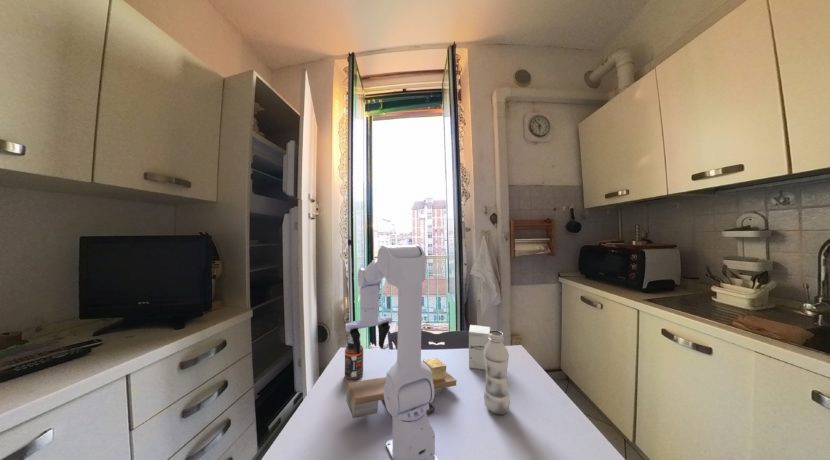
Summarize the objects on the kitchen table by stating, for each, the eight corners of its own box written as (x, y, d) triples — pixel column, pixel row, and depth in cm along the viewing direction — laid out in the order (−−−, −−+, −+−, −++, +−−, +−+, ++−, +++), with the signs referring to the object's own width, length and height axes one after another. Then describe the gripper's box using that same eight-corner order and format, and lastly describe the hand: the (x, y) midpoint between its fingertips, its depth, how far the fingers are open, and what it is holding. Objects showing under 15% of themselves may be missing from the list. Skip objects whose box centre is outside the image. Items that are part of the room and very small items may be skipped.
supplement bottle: (358, 381, 77) (358, 345, 77) (341, 379, 78) (341, 343, 79) (366, 371, 83) (366, 337, 83) (349, 369, 84) (349, 336, 84)
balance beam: (454, 396, 71) (456, 380, 72) (353, 418, 57) (355, 398, 57) (441, 383, 77) (442, 368, 78) (346, 400, 63) (348, 382, 64)
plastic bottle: (493, 421, 61) (492, 339, 61) (479, 403, 67) (478, 329, 68) (515, 415, 62) (514, 336, 63) (499, 398, 69) (498, 327, 69)
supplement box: (468, 368, 85) (468, 331, 85) (469, 358, 92) (469, 324, 92) (490, 371, 83) (490, 333, 83) (490, 360, 90) (490, 326, 90)
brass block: (444, 380, 71) (446, 365, 71) (430, 382, 69) (432, 367, 69) (435, 371, 75) (436, 358, 76) (421, 373, 73) (423, 359, 73)
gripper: (386, 300, 84) (386, 340, 84) (343, 306, 77) (343, 349, 77) (394, 305, 78) (394, 348, 78) (348, 312, 71) (348, 359, 71)
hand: (369, 349), depth 77 cm, fingers open, 7 cm apart
